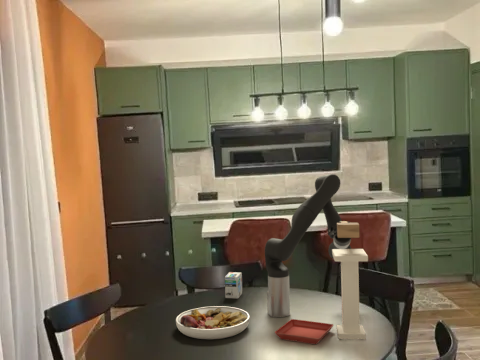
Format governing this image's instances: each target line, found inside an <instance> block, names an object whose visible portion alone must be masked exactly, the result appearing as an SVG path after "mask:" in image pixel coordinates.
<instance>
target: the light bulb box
mask: <svg viewBox="0 0 480 360" xmlns="http://www.w3.org/2000/svg"><path fill="white" fill-rule="evenodd" d="M242 274H243V273H242V272H236V271H235V272H233V271H229V272H228V273H227V274H226V275H225V276H224V288H225V289H224V291H225V292H224V293H225V295H224V296H225V299H239V298H240V297H241V295H242V294H243V275H242Z"/></svg>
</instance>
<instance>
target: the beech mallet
mask: <svg viewBox="0 0 480 360" xmlns="http://www.w3.org/2000/svg"><path fill="white" fill-rule="evenodd" d="M340 222H341V223H337V236H338V238H351V239H353V238H357V239H358V238H360V224H359V222H350V223H348V222H349V221H345V220H343V221H340Z"/></svg>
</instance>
